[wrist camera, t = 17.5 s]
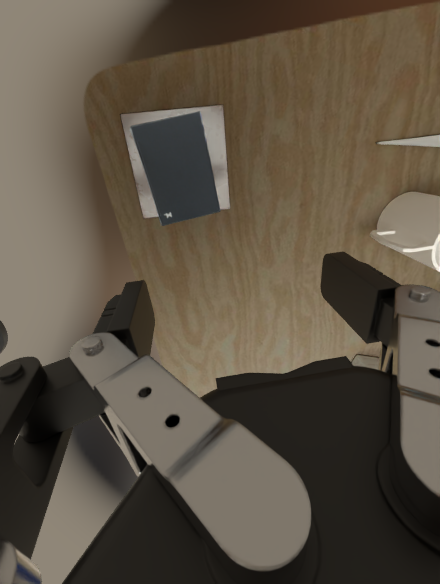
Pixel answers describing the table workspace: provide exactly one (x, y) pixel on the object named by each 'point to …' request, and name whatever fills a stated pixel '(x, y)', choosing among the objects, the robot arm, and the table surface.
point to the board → (215, 143)
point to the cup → (412, 227)
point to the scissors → (416, 141)
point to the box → (177, 167)
